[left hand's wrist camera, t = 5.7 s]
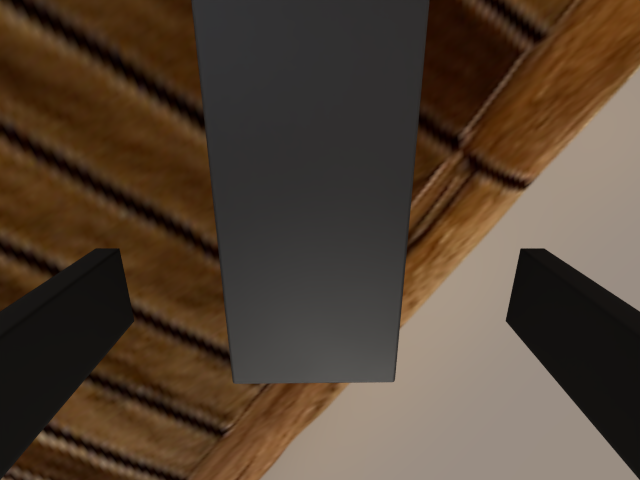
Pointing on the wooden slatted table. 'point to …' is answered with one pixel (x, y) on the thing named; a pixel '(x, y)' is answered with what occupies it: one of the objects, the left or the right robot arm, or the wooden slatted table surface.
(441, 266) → the wooden slatted table surface
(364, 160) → the bar
